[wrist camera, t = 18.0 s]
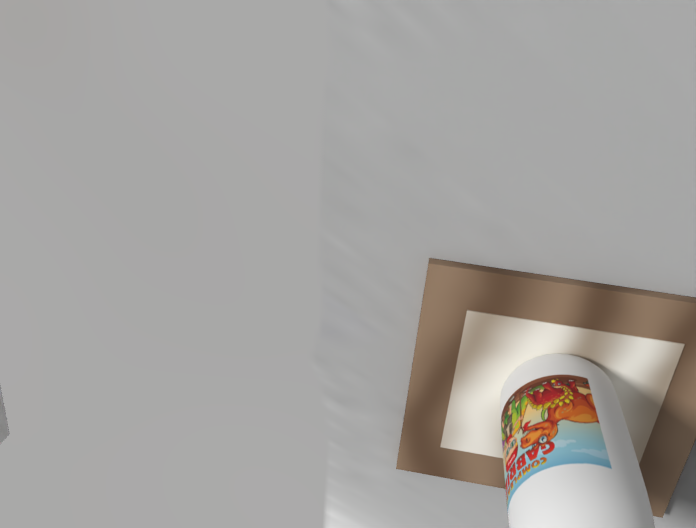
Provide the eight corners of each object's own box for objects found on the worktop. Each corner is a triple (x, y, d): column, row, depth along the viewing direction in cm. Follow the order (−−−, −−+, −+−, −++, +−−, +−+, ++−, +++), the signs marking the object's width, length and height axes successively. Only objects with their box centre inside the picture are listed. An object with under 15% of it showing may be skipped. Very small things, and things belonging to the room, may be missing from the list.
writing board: (744, 305, 42) (750, 312, 41) (659, 509, 50) (662, 518, 50) (429, 258, 44) (428, 264, 43) (397, 461, 52) (396, 469, 52)
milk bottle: (627, 357, 44) (731, 642, 26) (601, 447, 48) (677, 751, 30) (508, 342, 45) (533, 606, 27) (491, 430, 49) (503, 716, 31)
